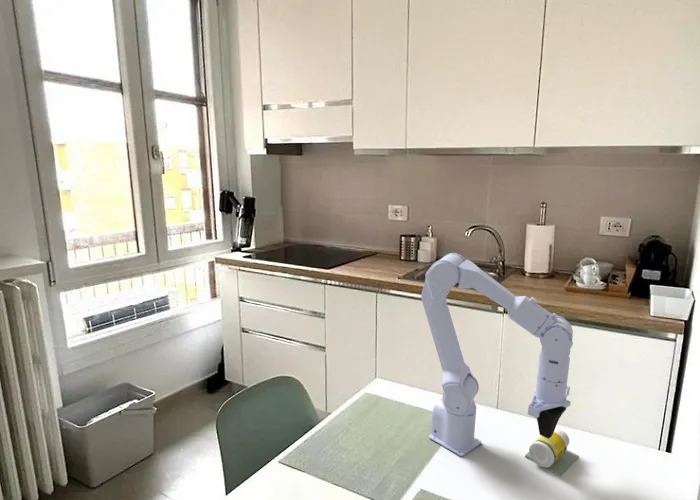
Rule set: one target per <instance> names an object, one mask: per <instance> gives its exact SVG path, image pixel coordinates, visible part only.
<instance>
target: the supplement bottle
mask: <svg viewBox="0 0 700 500" xmlns="http://www.w3.org/2000/svg"><path fill="white" fill-rule="evenodd" d="M569 444H570V438H569V435H568V434H567V432H565V431H564V430H562V429H556V428H555V430H554V433H553V435H552V437H550V438H549V439H548V438H546V437H544V436H542V435H540V436H539V437H538V438H537V439H535V440H534V441H533V442H532V443H531V444H530V445H529V447H528V452H529V454H530V456H531V458H532V460H533V461H532V460H531V461H532V462H534V463H535V465H537V466H539V467H541V468H545V467H550V466H551V465H552V464H553V463H554V462H556V461H557V460H558V459H559V458H560V457H561V456H562V455H563V454H564V453H565V452H566V450H568V446H569Z"/></svg>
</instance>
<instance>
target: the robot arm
mask: <svg viewBox="0 0 700 500" xmlns="http://www.w3.org/2000/svg"><path fill="white" fill-rule="evenodd" d="M456 284H458V286H457V289H459V290H460V289H461V290H462V289H463V290H464V289H475V290H476V291H478V292H479V293H481V294H483V295H484V296H485V297H487V298H489V299H490V300H491V301H493V302H495V303H496V304H498V305H500V306H501V307H503V308H504V309H506V312H507V316H508V318H509V319H510V320H511V321H512V322H514V323H516V324H517V325H518V326H520V327H521V328H523V330H525V331H527V332H528V333H530V334H531V335H532V336H534V337H536V338H537V339H539V342H540V344H541V351H540V353H539V356H538V363H537V365H538V366H537V375H536V382H535V383H536V385H535V391H533V392H534V394H533V395H532V399H531V403H530V404H529V405H528V406H527V407H528V409H527V415H529V416H531V417H533V418H535V419H536V421H537V427H538V433H539V435H540V436H544V437H546V438H548V439H549V438H550V437H552V435H553V433H554V430H556V427H557V425H558V423H559V420H560V418H561V417H562V415H563V414H564V413H565V411H566V410H567V408H569V407H571V404H572V401H570V400H567V397H568V396H569V395H570V390H571V389H570V388H571V386H569V385H567V384H568V377H569V370H570V361H571V359H570V355H571V349H572V347H573V343H574V342H573V336H574V335H573V333H574V331H573V327H572V325H571V323H570V322H569V321H568V320H567V319H566V318H565V316H560V315H558V314H557V313H555V312H553V313H551V312H550V311H549V310H547V309H545V308H544V307H543V306H541V305H539V304H538V300H537V298H535V297H533V296H531V298H530V297H528V296H526V295H521V296H520V295H517V296H516V295H515V294H514V293H512V292H511V291H509V289H507V288H506V287H505V286H503V285H502V284H501V283H499V282H498V281H497V280H496V279H494V278H493V277H491V275H489V274H488V273H486V272H485V271H484V270H482V269H481V268H480V267H479V266H478V265H476V264H475V263H474V262H473V261H471V260H469V259H465V256H463V255H461V254H459V253H456V252H450V253H447V254H445V255H444V256H442V258H440V259H438V260H437V261H435V262H433V264H432V265H431V266H430V267H429V269H428V270H427V271H426V273H425V279H424V284H423V287H422V291H421V293H420V295H421V296H420V297H421V302H422V306H423V310H424V312H425V316H426V319H427V322H428V325H429V329H430V332H431V336H432V339H433V343H434V345H435V350H436V353H437V356H438V358H439V363H440V366H441V369H442V378H441V387H442V390H443V391H442V393H443V395H442V398H441V397H440V399H439V400H437V401H436V403H435V404H434V406H433V409H432V414H431V415H432V417H431V428H430V431H431V432H430V434H429V435H428V438H429V439H430V440H432V441H433V442H434V443H435V442H436V443H437V444H439V445H441V446H442V447H444V448H445V449H447V450H450V451H451V452H453V453H455V455H458V456H459V457H464V456H465V455H467V454H468V453H469V452H471V451H472V450H474V449H475V448H477V447H478V446H479V445H481V444H482V440H481V439H479V438H477V437H475V433H476V432H475V430H476V417H477V416H476V415H477V405H476V402H475V400H474V399H475V397H476V395H478V392H479V390H480V385H479V382H478V380H477V378H476V377H475V376H474V374H473V373H472V371H471V369H470V366H468V364H466V363H465V360H464V356H463V352H462V350H461V345H460V342H459V340H458V336H457V333H456V329H455V326H454V322H453V319H452V316H451V315H452V314H451V313H450V309H449V306H448V302H447V297H448V294H449V293H450V292H451V290H452V289H453V288H454V287H455V285H456Z"/></svg>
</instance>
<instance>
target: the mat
mask: <svg viewBox="0 0 700 500" xmlns="http://www.w3.org/2000/svg"><path fill="white" fill-rule="evenodd" d="M524 458H527V459H528V460H530V461H532V462H534V461H533V460H532V458H531V456H530V454H529V451H528V452H526V454H525V455H524ZM579 458H580V455H578V454H576V453H575V452H572V451H570V450H568V449H567V450H566V452H565V453H564V454H563V455H562V456H561V457H560V458H559V459H558V460H557V461H556V462H554V463H553V464H552V465H551V466H550V467H544V468H545V469H547V470H550V471H552V472H553V473H555V474H557V475H559V476H562V475H563V474H564V473H565V472H566V471H567V470H568V469H569V468H570V467H571V466H573V464H574V463H575V462H577V461H578V460H579Z"/></svg>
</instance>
